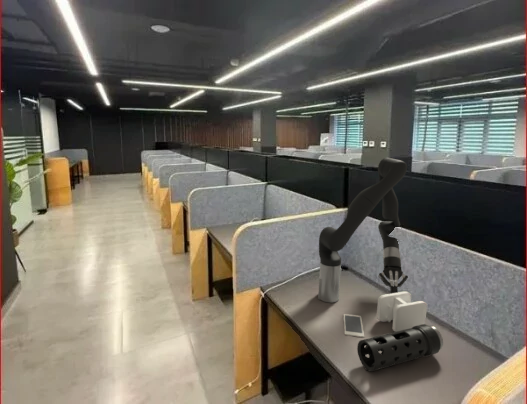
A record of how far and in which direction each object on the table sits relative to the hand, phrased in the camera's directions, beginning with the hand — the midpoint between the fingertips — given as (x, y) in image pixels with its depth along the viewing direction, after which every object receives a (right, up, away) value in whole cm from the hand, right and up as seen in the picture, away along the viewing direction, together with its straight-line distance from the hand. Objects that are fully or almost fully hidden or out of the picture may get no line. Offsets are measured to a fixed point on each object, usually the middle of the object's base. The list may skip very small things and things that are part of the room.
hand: (394, 295), depth 136 cm
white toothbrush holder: (-3, -8, -13) cm, 15 cm away
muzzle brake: (-12, -12, -33) cm, 37 cm away
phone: (-22, -8, -13) cm, 27 cm away
